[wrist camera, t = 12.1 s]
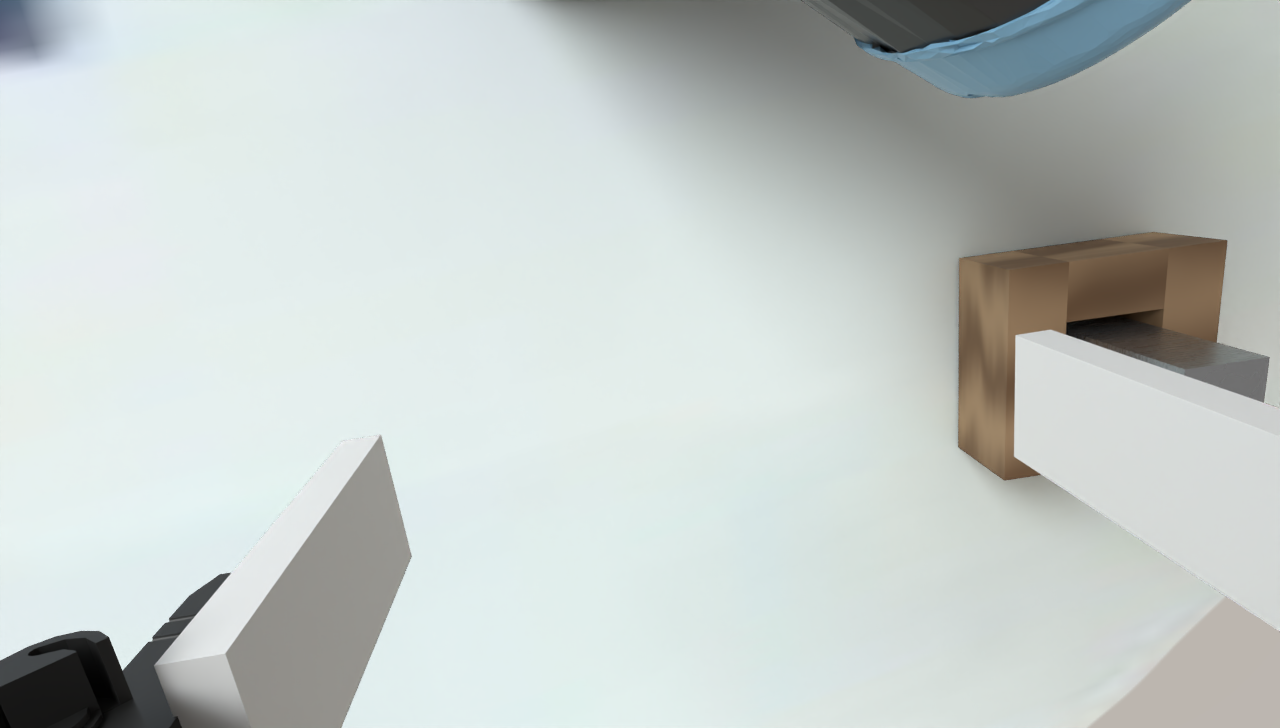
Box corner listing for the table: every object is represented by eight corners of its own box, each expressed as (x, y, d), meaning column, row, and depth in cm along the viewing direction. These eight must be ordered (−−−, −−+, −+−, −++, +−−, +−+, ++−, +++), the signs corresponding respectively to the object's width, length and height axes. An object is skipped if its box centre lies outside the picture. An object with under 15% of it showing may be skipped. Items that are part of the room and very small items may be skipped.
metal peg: (1021, 315, 43) (1185, 369, 32) (1084, 306, 43) (1269, 357, 32) (1019, 378, 44) (1176, 452, 33) (1081, 369, 45) (1258, 439, 33)
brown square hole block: (959, 258, 42) (1009, 269, 37) (1153, 232, 43) (1227, 240, 38) (958, 447, 45) (1004, 480, 40) (1138, 420, 46) (1204, 449, 41)
